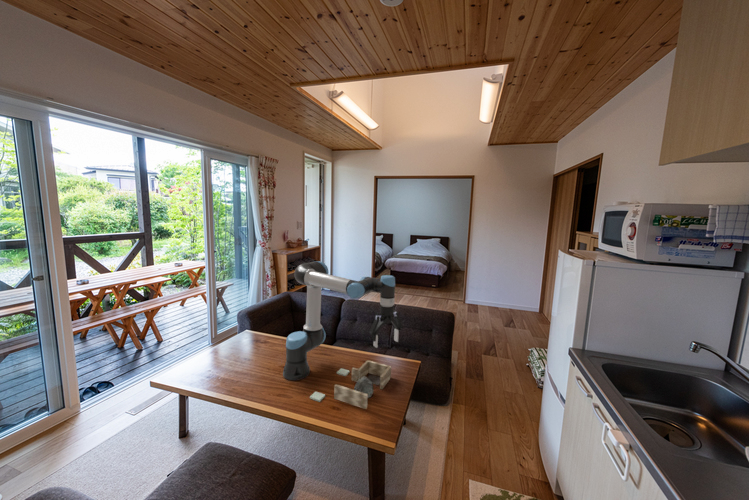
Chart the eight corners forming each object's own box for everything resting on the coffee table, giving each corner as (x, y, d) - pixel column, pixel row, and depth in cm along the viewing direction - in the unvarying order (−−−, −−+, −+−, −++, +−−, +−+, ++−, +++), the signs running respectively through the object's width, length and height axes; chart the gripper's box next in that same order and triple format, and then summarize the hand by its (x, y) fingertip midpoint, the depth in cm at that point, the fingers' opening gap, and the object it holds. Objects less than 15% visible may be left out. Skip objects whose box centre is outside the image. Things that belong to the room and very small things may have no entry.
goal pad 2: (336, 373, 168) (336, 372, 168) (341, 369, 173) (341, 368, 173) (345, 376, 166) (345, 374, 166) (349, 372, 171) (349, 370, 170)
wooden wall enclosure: (334, 398, 145) (334, 385, 145) (361, 369, 174) (362, 358, 173) (367, 409, 138) (368, 396, 137) (390, 377, 166) (391, 366, 166)
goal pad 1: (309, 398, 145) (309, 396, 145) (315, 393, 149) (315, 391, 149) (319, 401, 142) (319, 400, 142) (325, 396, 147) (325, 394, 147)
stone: (363, 382, 143) (367, 371, 153) (348, 391, 146) (353, 380, 155) (375, 397, 143) (378, 385, 153) (360, 406, 146) (364, 394, 155)
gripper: (371, 310, 140) (370, 352, 142) (410, 303, 154) (408, 341, 156) (363, 306, 146) (362, 346, 148) (401, 300, 160) (399, 336, 162)
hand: (386, 343), depth 152 cm, fingers open, 13 cm apart
